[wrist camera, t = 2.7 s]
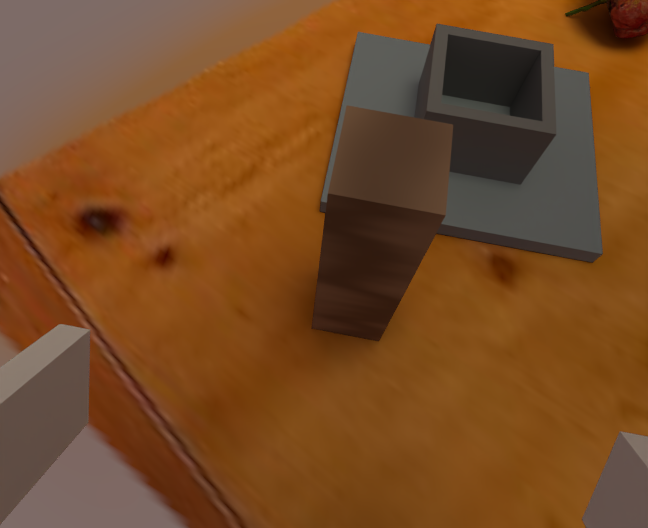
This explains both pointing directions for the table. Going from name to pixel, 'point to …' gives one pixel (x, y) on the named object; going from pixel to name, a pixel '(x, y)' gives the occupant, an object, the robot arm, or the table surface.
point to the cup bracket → (493, 134)
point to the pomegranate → (624, 16)
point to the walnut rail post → (379, 217)
